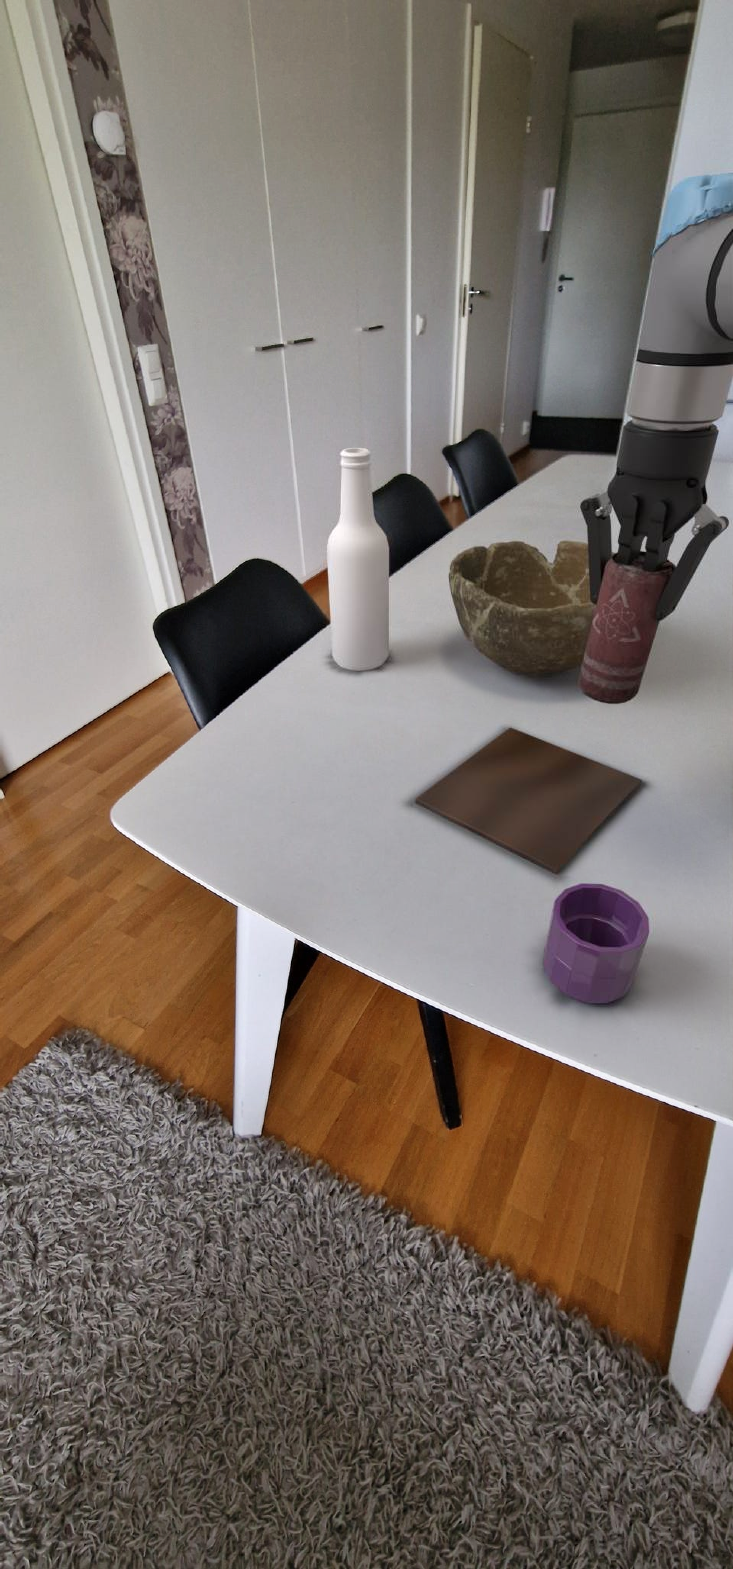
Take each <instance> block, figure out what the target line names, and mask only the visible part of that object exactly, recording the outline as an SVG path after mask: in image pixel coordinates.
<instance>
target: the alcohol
mask: <svg viewBox="0 0 733 1569" xmlns="http://www.w3.org/2000/svg"><path fill="white" fill-rule="evenodd" d="M371 454H372V452H371V451H370V450H369V449H368V448H364V447H347V448H344V449H342V451H340V453H339V456H340V457H341V460H340V462H339V464H340V466H341V474H340V476H341V478H340V479H341V480H340V481H341V482H340V483H341V484H340V505H339V507H340V508H339V518H338V522H337V524H336V525H335V527H334V528H333V530H332V531H331V533H330V534H329V536H328V540H327V545H326V559H327V561H326V562H327V581H328V582H327V583H328V597H329V598H328V599H329V617H330V618H329V619H330V620H329V621H330V638H331V653H332V654H331V655H332V659H333V660H334V661H335V663H336V665H338V666H339V667H341V668H343V669H346V670H349V671H354V672H355V671H358V672H360V671H370V670H375V669H377V668H380V667H381V666H383V665H384V664H385V662H386V660H387V659H388V658H389V655H390V546H389V542H388V537H387V535H386V533H385V531H384V530H383V529H382V527H381V526H380V525H379V524H378V523H377V520H376V517H375V511H374V499H373V489H372V477H371V476H372V475H371V464H372V461H371V458H370V456H371Z"/></svg>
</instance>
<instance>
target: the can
mask: <svg viewBox="0 0 733 1569" xmlns="http://www.w3.org/2000/svg"><path fill="white" fill-rule="evenodd" d="M614 553H615V554H614V555H612V558H611V559H610V560H609V561H608V562H607V564H606V566H605V570H604V575H603V579H602V584H601V588H600V592H599V596H598V601H597V605H596V608H595V612H594V617H593V621H592V625H591V629H590V633H589V638H588V642H587V646H586V650H585V654H584V658H583V663H582V666H580V671H579V675H578V680H577V684H578V686H579V688H580V691H581V693H582V694H584V696H586V697H588V698H589V699H591V700H593V701H596V702H598V703H603V704H608V705H620V704H625V703H627V702H629V701H631V700H633V699H634V698H635V697H636V696H637V695H638V693H639V691H640V687H641V685H642V681H643V678H644V674H645V671H646V669H647V668H646V667H647V664H648V661H649V657H650V654H651V651H652V647H653V645H654V642H655V637H656V634H657V631H658V629H659V625H660V623H661V621H655V620H654V619H653V615H654V611H655V608H656V605H657V603H658V601H659V599H660V597H661V595H662V593H663V591H664V589H665V587H666V585H667V583H668V581H669V579H670V578H671V576H672V574H673V572H674V570H675V568H676V566H677V565H676V564H675V563H674V562H672V561H670V560H669V559H668V558H667V562H665V563H664V564H663V567H664V568H662V569H661V570H660V571H658V572H647V571H644V570H642V568H643V564H644V559H645V554H646V551H645V550H641V551H640V555H639V559H635V560H634V561H633V562H630V563H632V564H630V565H628V566H626V565H623V564H619V563H616V557H617V552H614Z"/></svg>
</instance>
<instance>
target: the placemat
mask: <svg viewBox="0 0 733 1569" xmlns="http://www.w3.org/2000/svg"><path fill="white" fill-rule="evenodd" d="M642 783H643V779H641V778H638V777H636V776H633V775H631V774H629V773H626V772H623V771H621V770H618V769H616V768H613V767H611V766H609V765H606V764H603V763H601V762H598V761H596V760H593V759H591V758H589V757H586V756H584V755H581V754H578V753H576V752H573V751H571V750H568V749H566V748H563V747H561V746H559V745H556V744H553V743H550V742H548V741H546V740H543V739H541V738H538V737H536V736H533V735H531V734H528V733H526V732H523V731H521V730H518V729H515V728H513V727H508V728H507V729H506V730H505V731H503V732H502V733H501V734H499V735H498V736H496V738H494V739H493V740H492V741H490V742H489V743H487V744H486V745H485V746H483V747H482V748H481V749H479V750H478V751H477V752H476V753H474V754H472V756H470V757H469V758H467V759H466V760H465V761H463V762H462V763H461V764H460V765H458V766H457V767H456V768H454V769H453V770H452V771H450V772H449V773H448V774H446V775H445V776H444V777H442V778H441V779H440V780H439V781H437V782H436V783H434V784H433V785H431V786H430V787H429V788H428V789H426V790H425V791H424V792H422V793H421V794H419V796H417V797H416V798H414V799H415V802H414V803H415V804H416V805H419V806H421V807H422V808H425V809H427V810H429V811H431V812H433V813H435V814H437V815H438V816H440V817H443V818H444V819H447V820H448V821H450V822H453V823H454V824H456V825H459V826H460V827H462V828H465V829H466V830H468V831H470V832H472V833H474V834H476V835H478V836H480V837H481V838H484V839H486V840H487V841H490V842H492V843H494V844H496V845H498V846H500V847H502V848H504V849H505V850H507V851H509V852H511V853H513V854H515V855H517V856H519V857H521V858H523V859H525V860H527V861H529V862H532V863H533V864H535V865H537V866H539V867H540V868H543V869H545V870H547V871H549V872H551V873H553V874H554V875H557V874H558V872H560V870H561V869H562V868H563V867H564V866H565V865H566V864H567V863H568V862H569V861H570V860H571V859H572V858H573V857H574V855H575V854H576V853H577V852H578V851H579V850H580V849H581V848H582V847H583V846H584V845H585V844H586V843H587V842H588V841H589V840H590V839H591V838H592V837H593V836H594V834H596V832H597V831H598V830H599V829H600V828H601V827H602V826H603V825H604V824H605V823H606V822H607V820H608V819H609V818H610V817H611V816H613V814H614V813H615V812H616V811H617V810H618V809H619V808H620V807H621V806H622V805H623V803H625V801H626V800H627V799H628V798H629V797H630V796H631V795H632V794H633V793H634V792H635V791H636V790H637V789H638V788H639V787H640V786H641V784H642Z"/></svg>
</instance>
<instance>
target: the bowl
mask: <svg viewBox="0 0 733 1569" xmlns="http://www.w3.org/2000/svg"><path fill="white" fill-rule="evenodd" d="M556 546H557V547H556V553H555V557H554V559H553V562H550V561H548V558H547V557H546V555H545V554H543V552H541V551H540V550H539V548H537V547H535V546H532V545H531V544H529V543H525V541H521V540H520V541H519V540H513V541H506V542H505V541H501V542H493V543H491V544H490V545H489V546H488V547H486V546H484V545H477V546H472V547H470V548H467V549H465V550H463V551H461V552H460V553H458V554H456V555H455V557H454V558H453V559H452V560H451V561H450V565H449V571H448V572H449V573H448V576H447V577H448V584H449V591H450V595H451V598H452V603H453V606H454V610H455V613H456V616H457V620H458V624H459V626H460V628H461V631H462V632H463V635H464V637H465V638H466V640H467V641H469V642H470V643H471V645H473V646H474V648H475V649H477V651H478V652H480V653H481V654H482V655H484V656H485V657H486V658H488V659H489V660H490V661H491V662H493V663H494V664H496V665H497V666H499V667H500V668H502V669H504V670H506V671H508V672H511V673H513V674H517V675H518V676H519V675H520V676H526V677H535V678H537V677H538V678H540V677H552V676H555V675H560V674H564V673H565V674H566V673H567V672H570V671H572V670H576V669H577V668H579V667H580V668H581V667H582V663H583V658H584V654H585V650H586V646H587V642H588V638H589V633H590V629H591V625H592V621H593V617H594V612H595V608H596V605H595V604H593V603H592V602H591V600H590V584H589V560H588V542H587V543H586V542H582V541H575V540H561V541H559V542H558V543H557V545H556ZM615 553H616V552H614V551H612V555H614V554H615Z"/></svg>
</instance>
